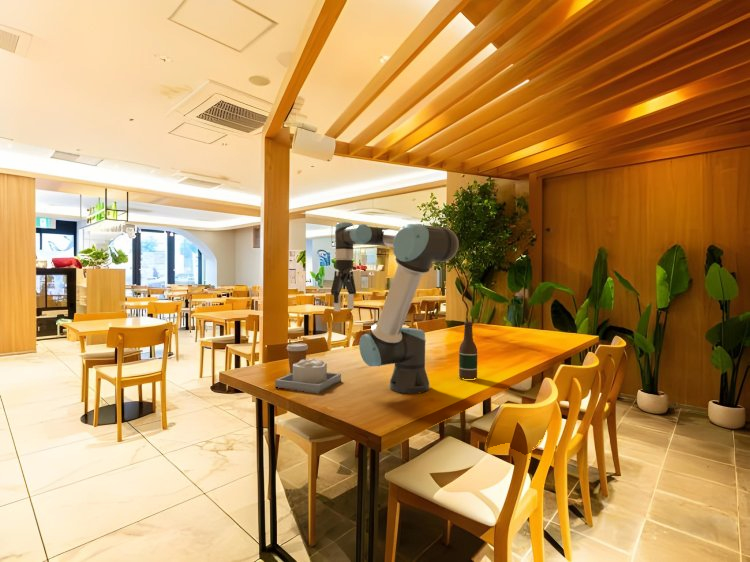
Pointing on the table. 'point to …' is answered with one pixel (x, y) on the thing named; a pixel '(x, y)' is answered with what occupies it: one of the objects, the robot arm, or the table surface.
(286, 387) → the charcoal tray
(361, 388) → the table surface
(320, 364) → the lumpy-topped squat cylinder
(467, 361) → the beer bottle
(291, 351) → the disposable coffee cup
